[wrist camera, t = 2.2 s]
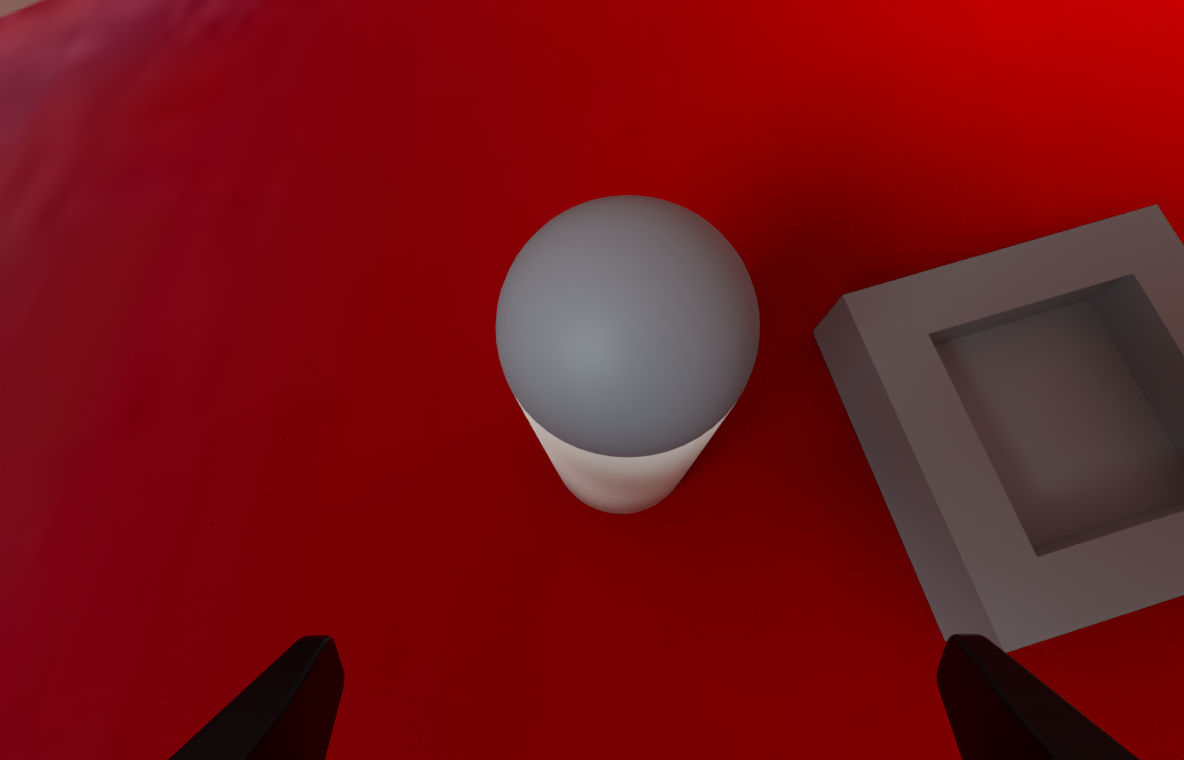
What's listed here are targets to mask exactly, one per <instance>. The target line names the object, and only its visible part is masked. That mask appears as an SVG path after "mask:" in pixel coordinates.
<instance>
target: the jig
mask: <svg viewBox="0 0 1184 760" xmlns="http://www.w3.org/2000/svg"><path fill="white" fill-rule="evenodd" d="M813 334H814V336H815V338H816V341H817V343H818V345H819V348H820V350H821V352H822V355H823V357H824V359H825V362H826V364H827V366H828V369H829V371H830V373H831V376H832V378H833V380H834V383H835V385H836V387H837V390H838V392H839V394H840V397H841V399H842V401H843V404H844V406H845V408H846V411H847V413H848V415H849V418H850V420H851V422H852V425H853V427H854V429H855V432H856V434H857V436H858V439H859V441H860V443H861V446H862V448H863V450H864V453H865V455H866V457H867V460H868V462H869V464H870V467H871V469H872V471H873V474H874V476H875V478H876V481H877V483H878V485H879V488H880V490H881V492H882V495H883V497H884V499H885V502H886V504H887V506H888V509H889V511H890V513H891V516H892V518H893V520H894V523H895V525H896V527H897V530H898V532H899V534H900V537H901V539H902V541H903V544H904V546H905V548H906V551H907V553H908V555H909V558H910V560H911V562H912V565H913V567H914V569H915V572H916V574H917V576H918V579H919V581H920V583H921V586H922V588H923V590H924V593H925V595H926V597H927V600H928V602H929V604H930V607H931V609H932V611H933V614H934V616H935V618H936V621H937V623H938V625H939V628H940V630H941V632H942V635H943V637H944V639H945V641H947V640H948V638H949V637H950V636H952V635H953V634H980V635H982V636H984V637H986V638H988V639H989V640H990V641H992V642H993V643H994V644H995V645H997V646H998V647H999V648H1000V649H1002V650H1003V651H1004V652H1005V653H1007V652H1010V651H1013V650H1016V649H1019V648H1022V647H1025V646H1028V645H1031V644H1034V643H1037V642H1040V641H1043V640H1047V639H1050V638H1053V637H1056V636H1059V635H1062V634H1065V633H1068V632H1071V631H1074V630H1077V629H1080V628H1084V627H1087V626H1090V625H1093V624H1096V623H1099V622H1102V621H1105V620H1108V619H1111V618H1114V617H1117V616H1121V615H1124V614H1127V613H1130V612H1133V611H1136V610H1139V609H1142V608H1145V607H1148V606H1151V605H1154V604H1158V603H1161V602H1164V601H1167V600H1170V599H1173V598H1176V597H1179V596H1182V595H1184V245H1183V244H1182V242H1181V241H1180V239H1179V238H1178V236H1177V235H1176V233H1175V232H1174V230H1173V228H1172V227H1171V225H1170V224H1169V222H1168V221H1167V219H1166V218H1165V216H1164V215H1163V213H1162V212H1161V210H1160V208H1159V207H1158V205H1157V204H1156V205H1153V206H1149V207H1146V208H1142V209H1139V210H1135V211H1132V212H1129V213H1125V214H1122V215H1118V216H1115V217H1111V218H1108V219H1104V220H1101V221H1097V222H1094V223H1090V224H1087V225H1084V226H1080V227H1077V228H1073V229H1070V230H1066V231H1063V232H1059V233H1056V234H1052V235H1049V236H1045V237H1042V238H1039V239H1035V240H1032V241H1028V242H1025V243H1021V244H1018V245H1014V246H1011V247H1007V248H1004V249H1000V250H997V251H994V252H990V253H987V254H983V255H980V256H976V257H973V258H969V259H966V260H962V261H959V262H955V263H952V264H949V265H945V266H942V267H938V268H935V269H931V270H928V271H924V272H921V273H917V274H914V275H910V276H907V277H904V278H900V279H897V280H893V281H890V282H886V283H883V284H879V285H876V286H872V287H869V288H865V289H862V290H859V291H855V292H852V293H848V294H845V295H842V297H841V298H840V299H839V300H838V301H837V303H836V304H835V305H834V306H833V307H832V309H831V310H830V311H829V312H828V314H827V315H826V316H825V317H824V318H823V320H822V321H821V322H820V323H819V325H818V326H817V327H816V328H815V329H814V331H813Z"/></svg>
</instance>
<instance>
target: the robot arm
mask: <svg viewBox="0 0 1184 760" xmlns="http://www.w3.org/2000/svg"><path fill="white" fill-rule="evenodd" d="M937 684H938V688H939V691H940V694H941V697H942V700H943V703H944V706H945V709H946V712H947V715H948V718H949V721H950V724H951V727H952V730H953V733H954V736H955V739H956V742H957V745H958V748H959V751H960V754H961V757H962V760H1140V759H1138V758H1137V757H1136V756H1135V755H1133V754H1132V753H1131V752H1130V751H1128V750H1127V749H1126V748H1124V747H1123V746H1122V745H1121V744H1119V743H1118V742H1117V741H1116V740H1114V739H1113V738H1112V737H1111V736H1109V735H1108V734H1107V733H1106V732H1104V731H1103V730H1102V729H1101V728H1099V727H1098V726H1097V725H1096V724H1094V723H1093V722H1092V721H1091V720H1089V719H1088V718H1087V717H1086V716H1084V715H1083V714H1082V713H1081V712H1079V711H1078V710H1077V709H1076V708H1074V707H1073V706H1072V705H1071V704H1069V703H1068V702H1067V701H1066V700H1064V699H1063V698H1062V697H1061V696H1059V695H1058V694H1057V693H1056V692H1054V691H1053V690H1052V689H1051V688H1049V687H1048V686H1047V685H1046V684H1044V683H1043V682H1042V681H1041V680H1039V679H1038V678H1037V677H1036V676H1034V675H1033V674H1032V673H1031V672H1029V671H1028V670H1027V669H1025V668H1024V667H1023V666H1022V665H1020V664H1019V663H1018V662H1017V661H1015V660H1014V659H1013V658H1012V657H1010V656H1009V655H1008V654H1007V653H1005V652H1004V651H1003V650H1002V649H1000V648H999V647H998V646H997V645H995V644H994V643H993V642H992V641H990V640H989V639H988V638H986V637H984V636H982V635H980V634H953V635H952V636H950V637H949V638H948V640H947V643H946V646H945V649H944V652H943V655H942V658H941V660H940V663H939V666H938V669H937ZM343 686H344V670H343V667H342V664H341V661H340V658H339V655H338V651H337V648H336V645H335V642H334V640H333V639H332V638H331V637H330V636H327V635H309V636H304V637H302V638H300V639H299V640H297V641H296V642H295V643H294V644H293V645H292V646H291V647H290V648H289V649H287V650H286V651H285V652H284V653H283V654H282V655H281V656H280V657H279V658H278V659H277V660H276V661H274V662H273V663H272V664H271V665H270V666H269V667H268V668H267V669H266V670H265V671H264V672H263V673H261V674H260V675H259V676H258V677H257V678H256V679H255V680H254V681H253V682H252V683H251V684H250V685H248V686H247V687H246V688H245V689H244V690H243V691H242V692H241V693H240V694H239V695H238V696H237V697H235V698H234V699H233V700H232V701H231V702H230V703H229V704H228V705H227V706H226V707H225V708H224V709H222V710H221V711H220V712H219V713H218V714H217V715H216V716H215V717H214V718H213V719H212V720H211V721H209V722H208V723H207V724H206V725H205V726H204V727H203V728H202V729H201V730H200V731H199V732H198V733H196V734H195V735H194V736H193V737H192V738H191V739H190V740H189V741H188V742H187V743H186V744H185V745H183V746H182V747H181V748H180V749H179V750H178V751H177V752H176V753H175V754H174V755H173V756H172V757H170V758H169V759H168V760H325V757H326V753H327V750H328V746H329V742H330V738H331V734H332V730H333V726H334V722H335V718H336V714H337V710H338V706H339V703H340V699H341V695H342V691H343Z"/></svg>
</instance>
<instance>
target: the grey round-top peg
mask: <svg viewBox="0 0 1184 760" xmlns="http://www.w3.org/2000/svg"><path fill="white" fill-rule="evenodd" d="M759 331H760V324H759V309H758V303H757V298H756V294H755V291H754V288H753V285H752V282H751V279H750V276H749V273H748V271H747V269H746V267H745V265H744V263H743V261H742V260H741V258H740V257H739V255H738V254H737V252H736V251H735V249H734V248H733V247H732V245H731V244H730V243H729V242H728V241H727V240H726V239H725V237H724V236H723V235H722V234H721V233H720V232H719V231H718V230H717V229H716V228H715V227H713V226H712V225H711V224H710V223H709V222H707V221H706V220H705V219H703V218H702V217H700V216H699V215H697V214H696V213H694V212H692V211H690V210H688V209H686V208H684V207H682V206H679V205H677V204H674V203H672V202H669V201H665V200H661V199H657V198H653V197H645V196H634V195H621V196H611V197H604V198H600V199H595V200H591V201H588V202H585V203H582V204H579V205H577V206H575V207H573V208H571V209H569V210H566V211H564V212H563V213H561V214H560V215H558V216H556V217H555V218H553V219H552V220H551V221H549V222H548V223H547V224H546V225H544V226H543V227H542V228H541V229H540V230H539V231H538V232H537V233H536V234H535V235H534V236H533V237H532V238H531V239H530V240H529V241H528V242H527V243H526V244H525V246H524V247H523V248H522V250H521V251H520V252H519V254H518V255H517V257H516V258H515V260H514V262H513V264H512V266H511V268H510V269H509V272H508V274H507V277H506V279H505V282H504V284H503V287H502V289H501V293H500V298H499V302H498V307H497V318H496V340H497V348H498V353H499V359H500V362H501V365H502V368H503V371H504V374H505V377H506V380H507V382H508V384H509V386H510V388H511V390H512V392H513V394H514V396H515V398H516V399H517V401H518V403H519V405H520V406H521V408H522V410H523V412H524V413H525V415H526V417H527V419H528V421H529V422H530V424H531V426H532V428H533V429H534V431H535V433H536V435H537V436H538V438H539V440H540V442H541V444H542V445H543V447H544V449H545V451H546V452H547V454H548V456H549V458H550V459H551V461H552V463H553V465H554V467H555V468H556V470H557V472H558V474H559V475H560V477H561V479H562V481H563V482H564V484H565V485H566V486H567V488H568V489H569V490H570V491H571V492H572V493H573V495H575V496H576V497H577V498H578V499H579V500H581V501H582V502H584V503H585V504H587V505H589V506H591V507H593V508H595V509H597V510H601V511H604V512H608V513H614V514H627V513H635V512H639V511H643V510H645V509H648V508H650V507H652V506H654V505H656V504H658V503H659V502H661V501H662V500H663V499H665V498H666V497H667V496H668V495H669V494H670V493H671V492H672V491H673V490H674V488H675V487H676V486H677V485H678V483H679V482H680V480H681V479H682V478H683V476H684V475H685V473H686V472H687V471H688V469H689V468H690V466H691V465H692V464H693V462H694V461H695V459H696V458H697V457H698V455H699V454H700V452H701V451H702V450H703V448H704V447H705V445H706V444H707V443H708V441H709V440H710V438H711V437H712V436H713V434H714V433H715V431H716V430H717V429H718V427H719V426H720V424H721V423H722V422H723V420H724V419H725V417H726V416H727V415H728V413H729V412H730V410H731V409H732V408H733V406H734V405H735V403H736V402H737V400H738V398H739V397H740V395H741V393H742V392H743V390H744V388H745V386H746V384H747V382H748V379H749V377H750V374H751V372H752V369H753V367H754V363H755V359H756V355H757V351H758V343H759Z"/></svg>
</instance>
